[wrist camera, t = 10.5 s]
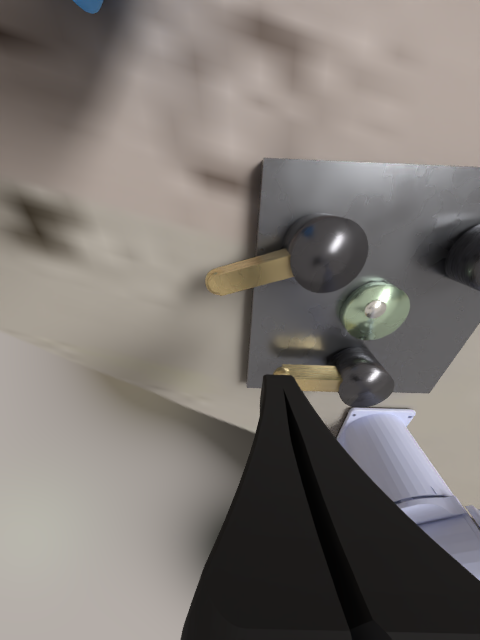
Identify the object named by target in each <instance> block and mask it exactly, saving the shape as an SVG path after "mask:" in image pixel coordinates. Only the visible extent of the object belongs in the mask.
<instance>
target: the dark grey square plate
mask: <svg viewBox="0 0 480 640" xmlns="http://www.w3.org/2000/svg"><path fill="white" fill-rule="evenodd" d="M312 213H327V214H331V215H335V216H339V217H343V218H347V219H350V220H352V221H354V222H356V223H357V224H358V225H360V226H361V228H362V229H363V230H364V232H365V234H366V236H367V240H368V256H367V259H366V262H365V265H364V267H363V268H362V270H361V272H360V273H359V274H358V276H357V277H356V278H355V279H354V280H353V281H352V282H350V283H349V284H348V285H346V286H345V287H343V288H341V289H339V290H337V291H333V292H329V293H315V292H311V291H309V290H306V289H305V288H303V287H302V286H301V285H300V284H299V283H298V282H297V281H296V279H295V277H291V278H287V279H284V280H280V281H276V282H272V283H268V284H265V285H261V286H257V287H253V297H252V311H251V325H250V339H249V353H248V367H247V388H262V381H263V376H264V375H266V374H270V375H273V372H274V371H275V370H276V369H277V368H278V367H282V364H291V365H322V366H328V364H329V362H330V360H331V359H332V357H333V356H334V355H336V354H337V353H338V352H340V351H342V350H344V349H347V348H352V347H361V348H365V349H367V350H369V351H370V352H371V353H372V354H373V355H374V356H375V358H376V359H377V360H378V361H379V362H380V364H381V365H382V366H383V367H384V369H385V370H386V371H387V372H388V374H389V375H390V376H391V377H392V379H393V380H394V384H395V385H394V390H393V392H402V393H430V391H431V390H432V389H433V387H434V386H435V384H436V383H437V382H438V380H439V379H440V377H441V376H442V375H443V373H444V372H445V371H446V369H447V368H448V366H449V365H450V364H451V362H452V361H453V359H454V358H455V357H456V355H457V354H458V352H459V351H460V350H461V348H462V347H463V345H464V344H465V343H466V341H467V340H468V338H469V337H470V336H471V334H472V333H473V331H474V330H475V329H476V327H477V326H478V324H479V323H480V291H478V290H476V289H473V288H471V287H468V286H466V285H464V284H461V283H459V282H456V281H454V280H452V279H450V278H449V277H448V275H447V274H446V271H445V261H446V257H447V255H448V253H449V251H450V249H451V248H452V246H453V245H454V244H455V242H456V241H457V240H458V239H459V238H460V237H461V236H462V235H463V234H464V233H466V232H467V231H468V230H470V229H471V228H473V227H475V226H477V225H479V224H480V167H463V166H439V165H416V164H393V163H370V162H347V161H323V160H300V159H277V158H263V160H262V171H261V185H260V199H259V213H258V227H257V241H256V255H255V257H257V256H261V255H264V254H268V253H271V252H275V251H278V250H282V249H283V242H284V239H285V236H286V234H287V232H288V231H289V229H290V228H291V226H292V225H293V224H294V223H295V222H296V221H298V220H299V219H300V218H302V217H304V216H306V215H308V214H312Z"/></svg>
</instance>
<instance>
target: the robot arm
mask: <svg viewBox="0 0 480 640" xmlns="http://www.w3.org/2000/svg"><path fill="white" fill-rule="evenodd" d="M415 414H416V412H415V411H414V410H412V409H383V408H351V409H350V411H349V413H348V415H347V417H346V419H345V421H344V423H343V426H342V428H341V430H340V432H339V434H338V436H337V439H336V438H335V437H334V436H333V434H332V433H331V432H330V430H329V429H328V428H327V426H326V425H325V424H324V422H323V421H322V420H321V418H320V417H319V415H318V414H317V413H316V411H315V410H314V408H313V407H312V405H311V404H310V402H309V401H308V399H307V398H306V396H305V395H304V393H303V392H302V390H301V388H300V387H299V385H298V384H297V382H296V380H295V378H294V377H293V376H292V375H270V374H266V375H264V376H263V381H262V389H261V398H260V418H259V422H258V426H257V430H256V434H255V438H254V441H253V445H252V448H251V451H250V454H249V457H248V460H247V463H246V466H245V469H244V472H243V475H242V478H241V480H240V483H239V486H238V488H237V491H236V494H235V496H234V499H233V501H232V504H231V506H230V509H229V511H228V514H227V516H226V519H225V521H224V523H223V526H222V528H221V530H220V533H219V535H218V537H217V540H216V542H215V544H214V546H213V549H212V551H211V553H210V555H209V557H208V560H207V562H206V564H205V567H204V569H203V572H202V574H201V578H200V580H199V583H198V586H197V589H196V591H195V594H194V597H193V600H192V603H191V606H190V609H189V612H188V615H187V617H186V621H185V624H184V627H183V631H182V636H181V640H480V530H479V528H480V510H479V509H476V508H475V507H474V506H472V505H470V506H465V507H466V508H467V509H468V511H469V512H470V514H471V515H472V517H473V518H474V519H475V522H476V523H477V525H478V527H479V528H478V527H477V526H476V524H475V523H474V521H473V520H472V518H471V517H470V516H469V514H468V513H467V511H466V510H465V509H464V507H463V506H462V504H461V503H460V502H459V500H458V499H457V498H456V496H454V495H453V493H452V492H451V490H450V489H449V488H448V486H447V485H446V483H445V482H444V480H443V479H442V478H441V476H440V475H439V473H438V472H437V470H436V469H435V468H434V466H433V465H432V463H431V462H430V460H429V459H428V458H427V456H426V455H425V453H424V452H423V450H422V449H421V448H420V446H419V445H418V443H417V442H416V440H415V439H414V438H413V436H412V435H411V433H410V432H409V430H408V429H407V428H406V427H407V425H408V424H409V423H410V421H411V420H412V418H413V417H414V416H415Z"/></svg>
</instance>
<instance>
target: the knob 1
mask: <svg viewBox="0 0 480 640" xmlns="http://www.w3.org/2000/svg"><path fill="white" fill-rule="evenodd" d="M367 256H368V240H367V236H366V234H365V232H364V230H363V229H362V228H361V226H360V225H358V224H357V223H356V222H354V221H352V220H350V219H347V218H343V217H339V216H335V215H331V214H327V213H312V214H308V215H306V216H304V217H302V218H300V219H299V220H298V221H296V222H295V223H294V224H293V225H292V226H291V228H290V229H289V231H288V232H287V234H286V236H285V239H284V242H283V249H282V250H278V251H275V252H271V253H268V254H264V255H261V256H257V257H254V258H250V259H247V260H243V261H240V262H236V263H233V264H229V265H226V266H222V267H218V268H216V269H213V270H211V271H210V272H209V273H208V274H207V276H206V279H205V284H206V287H207V289H208V290H209V291H210V292H211V293H213V294H216V295H220V296H223V295H227V294H230V293H234V292H238V291H242V290H246V289H249V288H253V287H257V286H261V285H265V284H268V283H272V282H276V281H280V280H284V279H287V278H291V277H295V279H296V281H297V282H298V283H299V284H300V285H301V286H302V287H303V288H305V289H306V290H309V291H311V292H315V293H329V292H333V291H337V290H339V289H341V288H343V287H345V286H346V285H348V284H349V283H350V282H352V281H353V280H354V279H355V278H356V277H357V276H358V274H359V273H360V272H361V270H362V268H363V267H364V265H365V262H366V259H367Z"/></svg>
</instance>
